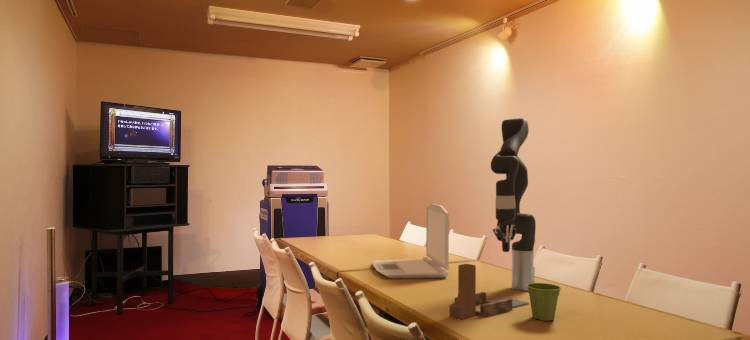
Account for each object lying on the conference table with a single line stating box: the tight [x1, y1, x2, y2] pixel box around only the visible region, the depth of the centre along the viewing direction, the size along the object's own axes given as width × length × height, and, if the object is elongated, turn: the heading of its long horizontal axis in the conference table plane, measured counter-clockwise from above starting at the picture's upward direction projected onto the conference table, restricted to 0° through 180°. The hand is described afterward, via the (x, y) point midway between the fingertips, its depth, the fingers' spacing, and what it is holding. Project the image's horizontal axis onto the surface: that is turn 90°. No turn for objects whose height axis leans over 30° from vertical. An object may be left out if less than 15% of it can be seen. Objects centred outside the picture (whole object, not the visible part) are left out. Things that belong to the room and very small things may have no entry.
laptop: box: [372, 203, 450, 279], centre depth 256 cm, size 42×33×35 cm
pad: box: [489, 296, 530, 309], centre depth 194 cm, size 10×11×1 cm
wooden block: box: [449, 263, 477, 320], centre depth 175 cm, size 9×4×18 cm, turn 128°
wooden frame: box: [454, 291, 513, 318], centre depth 185 cm, size 16×14×4 cm
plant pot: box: [526, 282, 562, 322], centre depth 174 cm, size 12×12×11 cm
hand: (505, 251), depth 193 cm, fingers closed
